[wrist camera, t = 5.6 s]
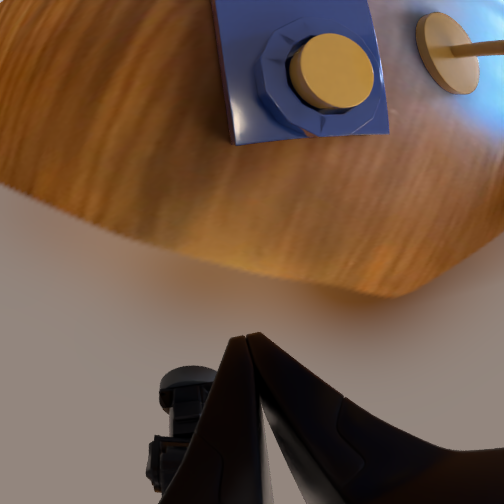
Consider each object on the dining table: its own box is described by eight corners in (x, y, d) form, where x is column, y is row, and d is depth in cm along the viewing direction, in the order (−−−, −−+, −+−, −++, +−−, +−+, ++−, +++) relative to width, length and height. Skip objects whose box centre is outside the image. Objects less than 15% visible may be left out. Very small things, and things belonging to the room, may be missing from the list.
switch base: (371, 133, 18) (407, 136, 14) (231, 145, 17) (240, 146, 13) (340, -30, 12) (366, -51, 9) (205, -36, 11) (209, -68, 7)
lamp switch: (361, 110, 14) (378, 108, 12) (294, 111, 13) (306, 108, 12) (351, 45, 12) (367, 37, 10) (283, 41, 12) (294, 30, 10)
